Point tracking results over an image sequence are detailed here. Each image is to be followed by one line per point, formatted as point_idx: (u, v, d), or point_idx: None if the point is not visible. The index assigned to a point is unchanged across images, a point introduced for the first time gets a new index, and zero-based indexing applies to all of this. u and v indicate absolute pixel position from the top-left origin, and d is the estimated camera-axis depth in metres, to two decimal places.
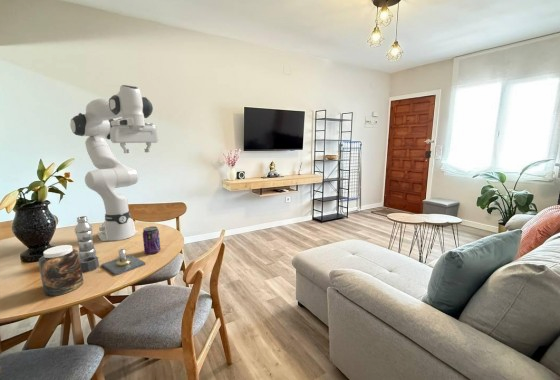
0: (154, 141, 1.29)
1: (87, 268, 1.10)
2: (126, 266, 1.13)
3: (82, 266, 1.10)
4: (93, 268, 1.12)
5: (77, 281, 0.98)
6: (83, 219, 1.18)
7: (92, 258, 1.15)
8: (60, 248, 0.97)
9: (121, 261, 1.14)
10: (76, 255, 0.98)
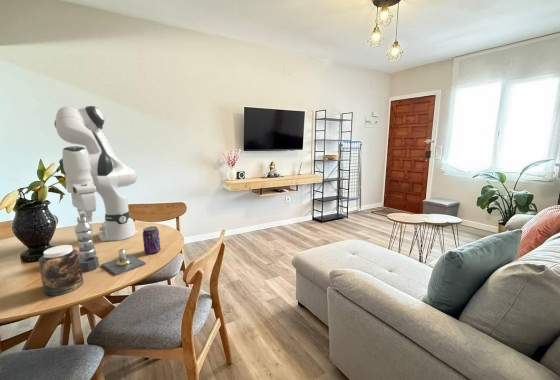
0: None
1: (87, 268, 1.10)
2: (126, 266, 1.13)
3: (82, 266, 1.10)
4: (93, 268, 1.12)
5: (77, 281, 0.98)
6: (83, 219, 1.18)
7: (92, 258, 1.15)
8: (60, 248, 0.97)
9: (121, 261, 1.14)
10: (76, 255, 0.98)
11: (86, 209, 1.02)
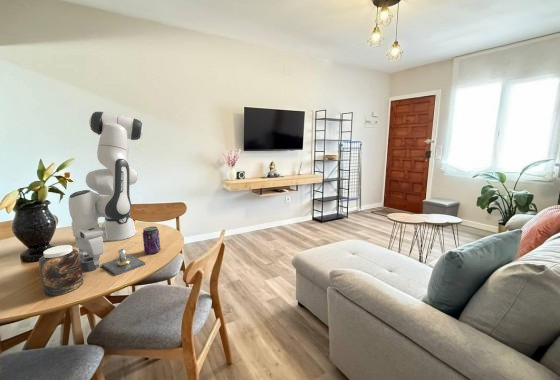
0: None
1: (87, 268, 1.10)
2: (126, 266, 1.13)
3: (82, 266, 1.10)
4: (93, 268, 1.12)
5: (77, 281, 0.98)
6: None
7: (92, 258, 1.15)
8: (60, 248, 0.97)
9: (121, 261, 1.14)
10: (76, 255, 0.98)
11: (94, 253, 1.04)
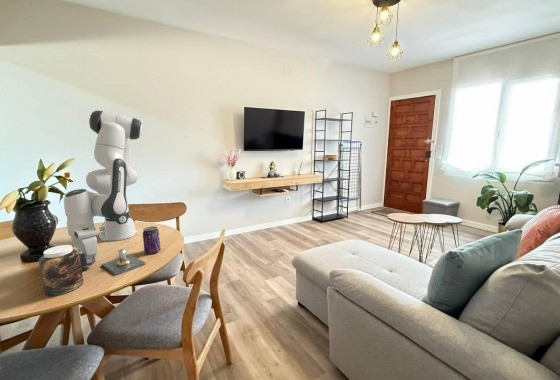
0: None
1: (83, 263, 1.10)
2: (126, 266, 1.13)
3: None
4: (89, 264, 1.11)
5: (77, 281, 0.98)
6: None
7: None
8: (60, 248, 0.97)
9: (121, 261, 1.14)
10: (76, 255, 0.98)
11: (87, 253, 1.04)
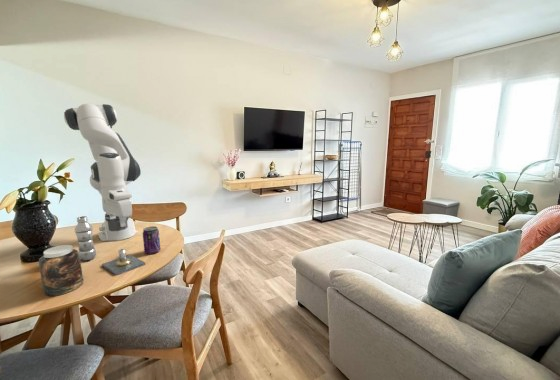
0: None
1: (117, 227, 1.09)
2: (126, 266, 1.13)
3: (112, 225, 1.09)
4: (122, 228, 1.11)
5: (77, 281, 0.98)
6: (83, 219, 1.18)
7: None
8: (60, 248, 0.97)
9: (121, 261, 1.14)
10: (76, 255, 0.98)
11: (123, 215, 1.04)
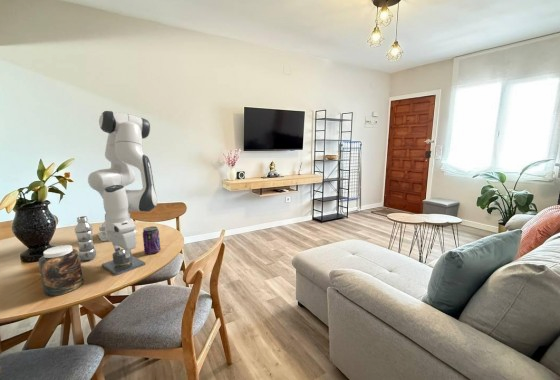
0: None
1: (121, 260, 1.12)
2: (126, 266, 1.13)
3: (117, 259, 1.12)
4: (127, 261, 1.14)
5: (77, 281, 0.98)
6: (83, 219, 1.18)
7: None
8: (60, 248, 0.97)
9: None
10: (76, 255, 0.98)
11: (127, 247, 1.07)
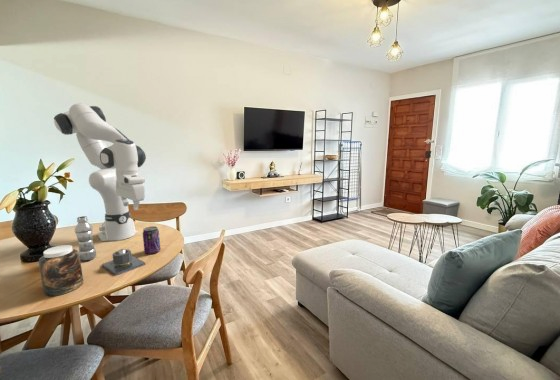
0: None
1: (121, 260, 1.12)
2: (126, 266, 1.13)
3: (117, 259, 1.12)
4: (127, 261, 1.14)
5: (77, 281, 0.98)
6: (83, 219, 1.18)
7: None
8: (60, 248, 0.97)
9: None
10: (76, 255, 0.98)
11: (136, 198, 1.11)
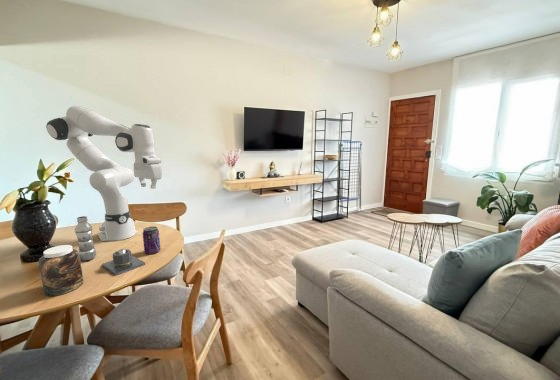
0: None
1: (121, 260, 1.12)
2: (126, 266, 1.13)
3: (117, 259, 1.12)
4: (127, 261, 1.14)
5: (77, 281, 0.98)
6: (83, 219, 1.18)
7: None
8: (60, 248, 0.97)
9: None
10: (76, 255, 0.98)
11: (155, 177, 1.21)
